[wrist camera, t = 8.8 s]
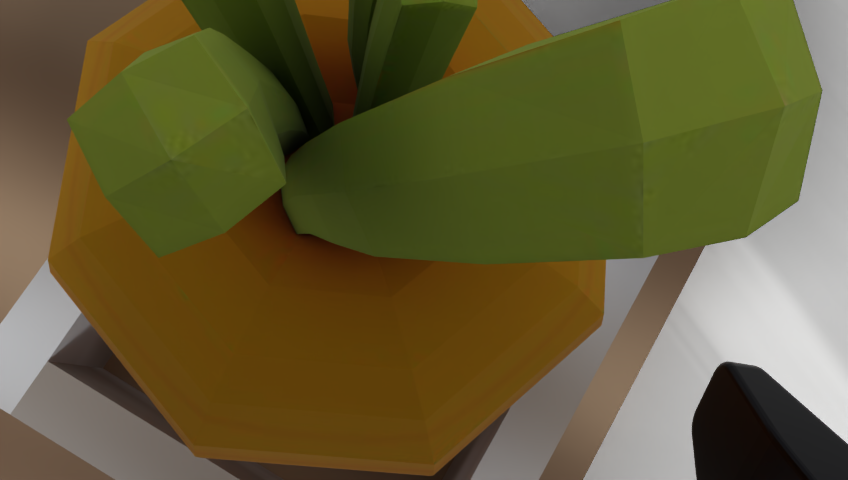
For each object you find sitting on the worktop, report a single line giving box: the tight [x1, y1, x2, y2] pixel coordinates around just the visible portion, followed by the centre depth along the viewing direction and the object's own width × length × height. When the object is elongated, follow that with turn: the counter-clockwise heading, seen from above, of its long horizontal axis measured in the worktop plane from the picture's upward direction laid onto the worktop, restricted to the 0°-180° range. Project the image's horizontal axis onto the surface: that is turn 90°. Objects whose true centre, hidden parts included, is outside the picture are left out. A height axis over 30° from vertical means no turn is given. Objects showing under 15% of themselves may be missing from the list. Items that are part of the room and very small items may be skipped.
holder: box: [0, 0, 705, 480], centre depth 16 cm, size 13×16×4 cm
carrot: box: [48, 0, 822, 476], centre depth 10 cm, size 5×5×15 cm
